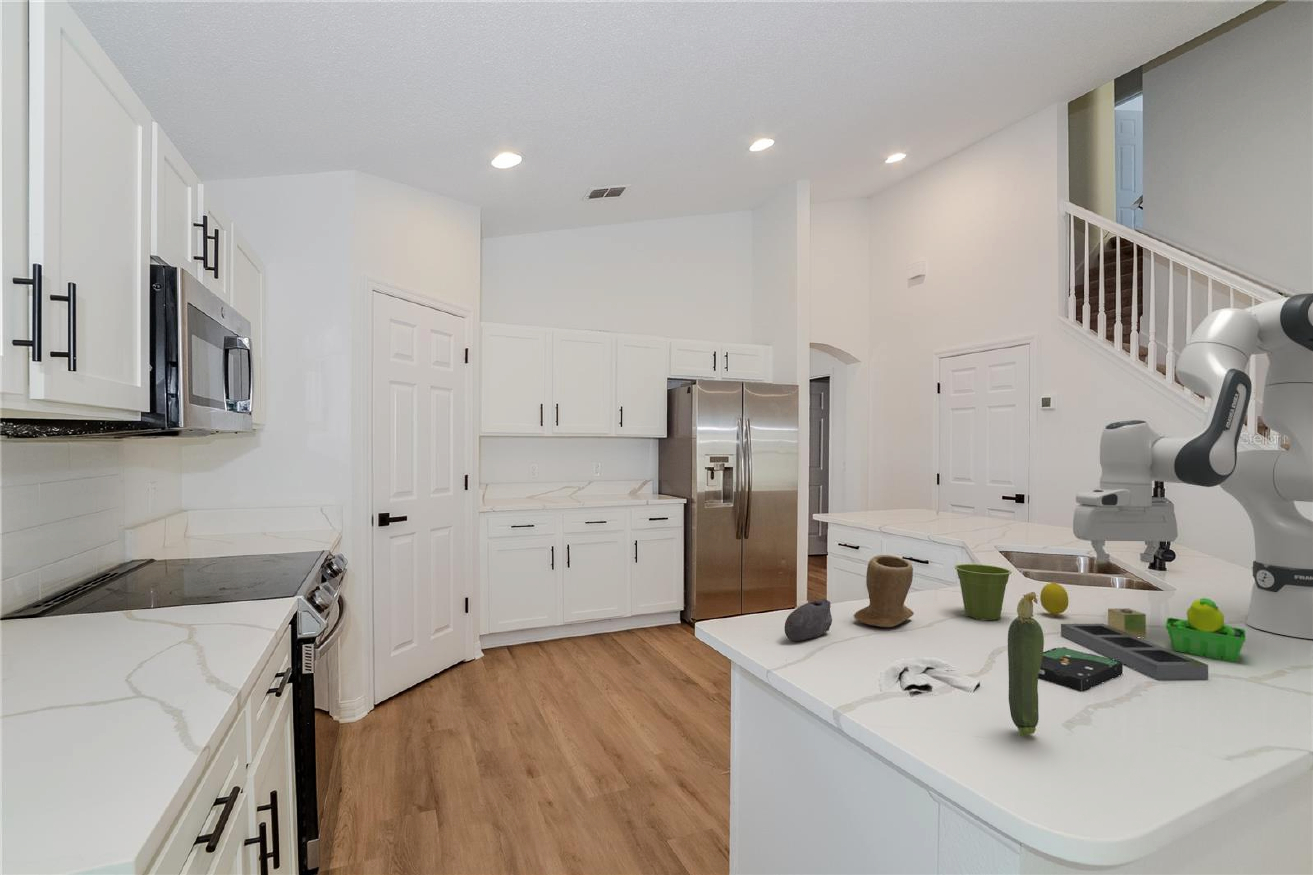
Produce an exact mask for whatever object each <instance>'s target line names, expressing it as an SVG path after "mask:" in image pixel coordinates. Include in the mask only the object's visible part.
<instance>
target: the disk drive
mask: <svg viewBox="0 0 1313 875" xmlns="http://www.w3.org/2000/svg"><path fill="white" fill-rule="evenodd" d="M1123 670H1124V668H1123V664H1122V662H1120V661H1116V660H1113V659H1110V658H1108V657H1106V656H1101V655H1100V656H1099V655H1097V654H1094V653H1093V654H1092V653H1087V652H1082V651H1079V650H1075V649H1070V648H1067V647H1064V646H1062V647H1054V648H1051V649H1049V650H1046V651H1043V656H1042V663H1041V667H1040V670H1039V675H1038V680H1039V679H1040V680H1043V681H1046V682H1049V683H1052V682H1053V683H1052V684H1055V683H1056V685H1059V686H1062V687H1064V688H1068V687H1069V689H1072V690H1075V691H1078V692H1081V691H1083V692H1085V691H1088V690H1091V689H1092V688H1094V687H1097V686H1099V685H1102V684H1103V683H1102V682H1104V683H1107V682H1108V681H1110V679H1111V680H1113V679H1116V678H1118V677H1120V676H1122V675H1123V674H1122V673H1123ZM1121 674H1122V675H1121ZM1119 675H1120V676H1119ZM1112 678H1113V679H1112ZM1091 687H1092V688H1091ZM1090 688H1091V689H1090Z"/></svg>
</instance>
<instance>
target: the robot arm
mask: <svg viewBox="0 0 1313 875" xmlns="http://www.w3.org/2000/svg"><path fill="white" fill-rule="evenodd" d="M1262 354H1263V355H1264V354H1266V357H1267V359H1268V361H1269V362H1268V363H1269V365H1268V367H1267V371H1266V376H1265V380H1264V381H1265V382H1264V387H1263V395H1262V396H1263V397H1262V405H1261V414H1260V416H1261V417H1260V418H1261V421H1262V422H1263V424H1264V425H1265V426H1266V427H1267V428H1268V429H1270V430H1272V431H1274V432H1276V433H1277V434H1278V433H1279V434H1280V435H1284V436H1286V438H1287V440H1288V443H1289V448H1288V449H1287V450H1286V449H1275V450H1274V449H1272V450H1271V449H1249V450H1243V451H1238V444H1239V440H1240V437H1241V433H1242V429H1243V426H1244V422H1245V419H1246V415H1247V412H1248V408H1249V404H1250V400H1251V396H1252V380H1251V378H1250V376H1249V375H1248V374H1247V373H1246V367H1247V365H1248V364H1249V361H1250V359H1251V357H1252V356H1253V355H1262ZM1174 372H1175V375H1176V378H1177V379H1178V381H1179V382H1180V384H1181V385H1183V386H1184V387H1185V388H1186V389H1187V390H1189V391H1190V392H1193V393H1195V394H1197V395H1200V396H1203V397H1207V398H1208V399H1210V404H1209V407H1208V410H1207V414H1206V417H1205V420H1204V423H1203V428H1202V429H1201V430H1200V431H1199V432H1198V433H1196V434H1193V435H1190V436H1166V435H1164V434H1161V433H1158V432H1157V431H1155V430H1154V429H1153V428H1152V427H1150V426H1149V424H1148V421H1146V420H1140V419H1139V420H1136V419H1135V420H1133V419H1132V420H1124V421H1116V422H1112V423H1109V424H1107V425H1106V426H1105V427H1104V428H1103V431H1102V432H1101V437H1100V445H1099V464H1100V466H1101V475H1100V478H1099V486H1097V487H1094V488H1092V489H1089V490H1085V491H1082V492H1078V494H1076V496H1075V501H1076V504H1079V505H1077V506H1076V507H1075V508H1074V510H1073V511H1074V512H1073V519H1072V532H1073V535H1074V537H1075V538H1076V539H1078V540H1081V541H1087V542H1090V545H1091V547H1092V548H1093V550H1094V551H1095V553H1096V561H1097V562H1099V563H1110V560H1111V559H1110V558H1111V557H1110V555H1111V554H1109V553H1106V552H1105V549H1104V547H1105V546H1106V542H1144V545H1145V546H1146V547H1145V549H1144V551H1143V552H1140V553H1139V554H1140V555H1139V557H1140V558H1139V560H1140V563H1145V564H1146V563H1147V564H1148V563H1149V564H1151V563H1154V561H1155V560H1154V558H1155V556H1154V555H1155V554H1156V553H1157V551H1158V549H1159V548H1160V542H1168V543H1169V542H1175V541H1176V539H1177V538H1178V536H1179V535H1178V534H1179V533H1178V532H1179V531H1178V523H1177V517H1176V514H1175V504H1174V503H1173V501H1171V500H1170V499H1168V498H1167V497H1166V496H1165V497H1157V496H1155V497H1154V496H1153V493H1152V492H1153V482H1165V483H1170V484H1171V483H1172V484H1173V483H1174V484H1187V485H1193V486H1199V487H1203V488H1204V487H1205V488H1211V487H1212V488H1213V487H1215V486H1216V487H1217V486H1220V488H1221V489H1222V490H1223V491H1224V492H1226V493H1227V494H1229V495H1231V496H1232V497H1233V498H1234V499H1235V500H1236V501H1238V503H1239V504H1240V506H1242V507H1243V509H1244V510H1245V512H1246V514H1247V515H1248V517H1249V520H1250V523H1251V524H1252V528H1253V530H1252V531H1253V538H1254V549H1255V550H1254V551H1255V556H1254V557H1255V559H1254V561H1252V567H1251V570H1252V577H1253V578H1254V583H1253V585H1252V589H1251V596H1250V601H1249V602H1250V603H1249V609H1248V610H1249V611H1248V612H1247V613H1246V616H1245V618H1246V621H1245V624H1246V625H1248V626H1250V627H1252V628H1255V629H1258V630H1262V631H1263V632H1264V631H1265V632H1269V633H1273V634H1278V635H1283V636H1288V637H1293V638H1300V639H1301V638H1302V639H1310V640H1313V520H1310V519H1308V518H1306V517H1305V516H1303V515H1302V514H1301V512H1300V511H1299V510H1298V509H1297V507H1296V504H1295V502H1305V503H1313V293H1312V292H1310V293H1299V294H1295V295H1292V296H1289V297H1283V298H1282V297H1281V298H1277V299H1272V300H1268V301H1264V302H1260V303H1259V304H1256V305H1252V306H1249V307H1246V308H1244V309H1242V308H1236V307H1225V308H1220V309H1217V310H1216V309H1215V310H1214V311H1212V312H1210V313H1209V314H1208V315H1207V316H1205V318H1204V319H1203V320H1202V321H1201V322H1200V323H1199V325H1198V326H1197V327H1196V329H1195V330H1194V332H1193V333H1192V334H1191V336H1190V337H1189V339H1188V341H1187V342H1186V344H1185V346H1184V347H1183V349H1182V351H1181V353H1180V355H1179V357H1178V359H1177V361H1176V366H1175V369H1174Z"/></svg>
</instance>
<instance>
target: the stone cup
mask: <svg viewBox="0 0 1313 875" xmlns="http://www.w3.org/2000/svg"><path fill="white" fill-rule="evenodd" d="M866 569H867V570H866V575H865V576H866V581H865V582H866V588H867V592H868V598H869V605H867V606H866V607H863V608H861V609H858V611H856V612H855V613H854V614H853V618H854V619H855V620H857V621H858V622H861V623H863V624H866V625H870V626H874V627H875V626H876V627H881V628H891V627H896V626H897V625H900V624H902V623H903V622H905V621H907V620H908V619H910V618H911V617H913V616H914V614H915V612H914V611H913V610H912V609H911V608H909V607H908V606H906V605H905V601H906V598H907V596H908V595H909V594H908V593H909V590H910V588H911V585H912V582H913V576H914V568H913V564H912V563H911V562H910V561H908V560H906V559H905V558H903V557H898V556H895V555H890V554H881V555H876V556H873V557H872V558H871V559H870V560H869V562H868V564H867V567H866Z"/></svg>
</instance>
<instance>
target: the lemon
mask: <svg viewBox="0 0 1313 875" xmlns="http://www.w3.org/2000/svg"><path fill="white" fill-rule="evenodd" d="M1039 598H1040V604H1041V607H1042V608H1043V609H1044V610H1045V611H1046V612H1048V613H1049V614H1051V616H1053V617H1057V616H1058V615H1060V614H1062V613H1064V612H1065V611H1066V610H1067V609H1068V606H1069V595H1068V593H1067V590H1066V589H1065V588H1064V587H1063V586H1062V585H1061V584H1059V583H1057V582H1056V581H1052V582H1051V583H1047V584H1045V585H1044V586H1043V587H1042V589H1041V592H1040V596H1039Z"/></svg>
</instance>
